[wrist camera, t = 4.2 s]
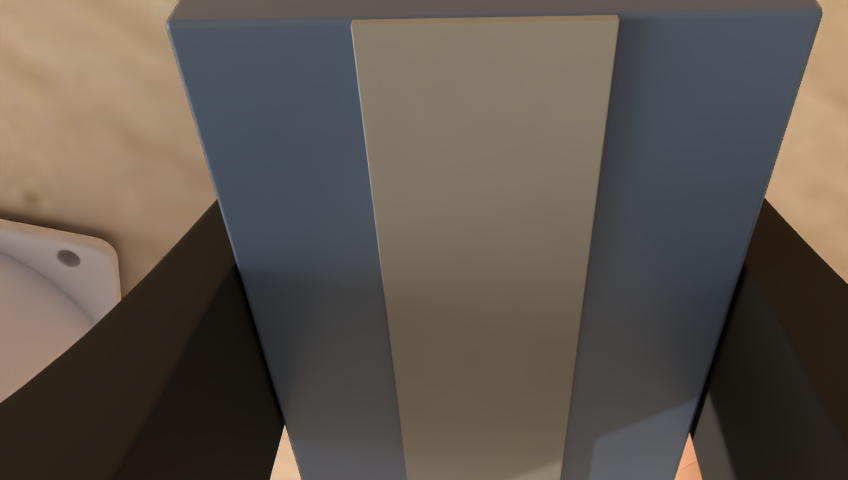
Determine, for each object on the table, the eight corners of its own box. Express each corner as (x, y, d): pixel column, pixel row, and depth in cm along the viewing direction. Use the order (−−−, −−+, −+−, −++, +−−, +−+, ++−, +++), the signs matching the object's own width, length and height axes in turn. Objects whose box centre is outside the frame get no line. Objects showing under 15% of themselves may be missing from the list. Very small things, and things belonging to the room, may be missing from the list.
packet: (621, 335, 14) (655, 553, 11) (351, 331, 15) (315, 542, 12) (712, -160, 9) (832, 17, 6) (267, -144, 9) (157, 28, 6)
